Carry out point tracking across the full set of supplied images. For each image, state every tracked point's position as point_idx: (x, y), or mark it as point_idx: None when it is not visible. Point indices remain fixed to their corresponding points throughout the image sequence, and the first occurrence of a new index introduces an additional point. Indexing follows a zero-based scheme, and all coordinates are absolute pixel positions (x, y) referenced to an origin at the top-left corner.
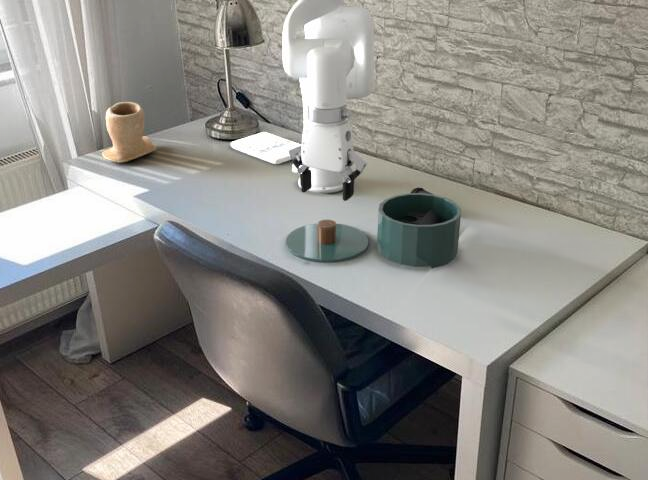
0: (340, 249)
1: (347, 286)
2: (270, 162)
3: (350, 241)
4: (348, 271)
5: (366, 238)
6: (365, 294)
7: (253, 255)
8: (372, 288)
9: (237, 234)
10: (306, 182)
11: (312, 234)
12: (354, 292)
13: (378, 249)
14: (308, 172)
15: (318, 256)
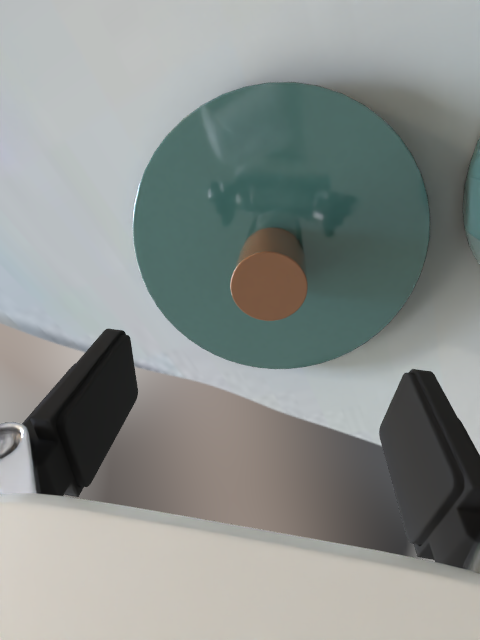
0: (337, 301)
1: None
2: None
3: (357, 236)
4: (382, 367)
5: (418, 186)
6: None
7: None
8: (458, 416)
9: (5, 278)
10: (112, 421)
11: (206, 235)
12: None
13: (474, 248)
14: (69, 450)
15: (287, 356)
